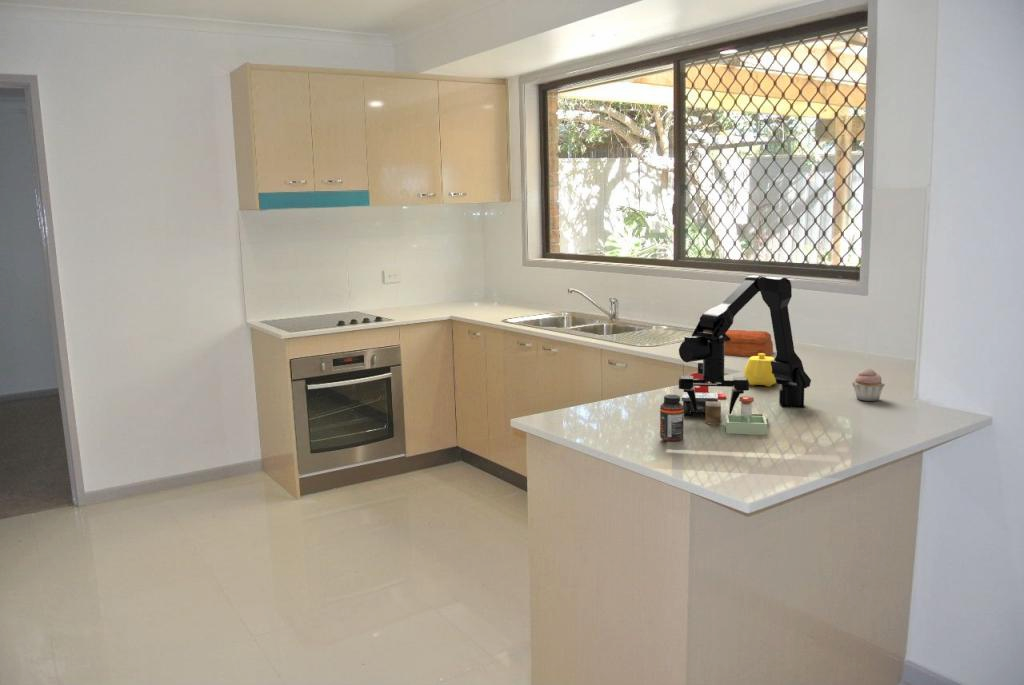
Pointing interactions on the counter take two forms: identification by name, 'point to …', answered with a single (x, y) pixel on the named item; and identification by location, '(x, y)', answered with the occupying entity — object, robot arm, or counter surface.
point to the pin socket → (760, 415)
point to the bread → (748, 343)
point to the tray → (746, 425)
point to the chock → (713, 412)
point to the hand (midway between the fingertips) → (713, 413)
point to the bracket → (704, 388)
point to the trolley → (698, 401)
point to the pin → (746, 408)
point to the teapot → (760, 370)
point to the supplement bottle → (671, 419)
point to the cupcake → (868, 385)
